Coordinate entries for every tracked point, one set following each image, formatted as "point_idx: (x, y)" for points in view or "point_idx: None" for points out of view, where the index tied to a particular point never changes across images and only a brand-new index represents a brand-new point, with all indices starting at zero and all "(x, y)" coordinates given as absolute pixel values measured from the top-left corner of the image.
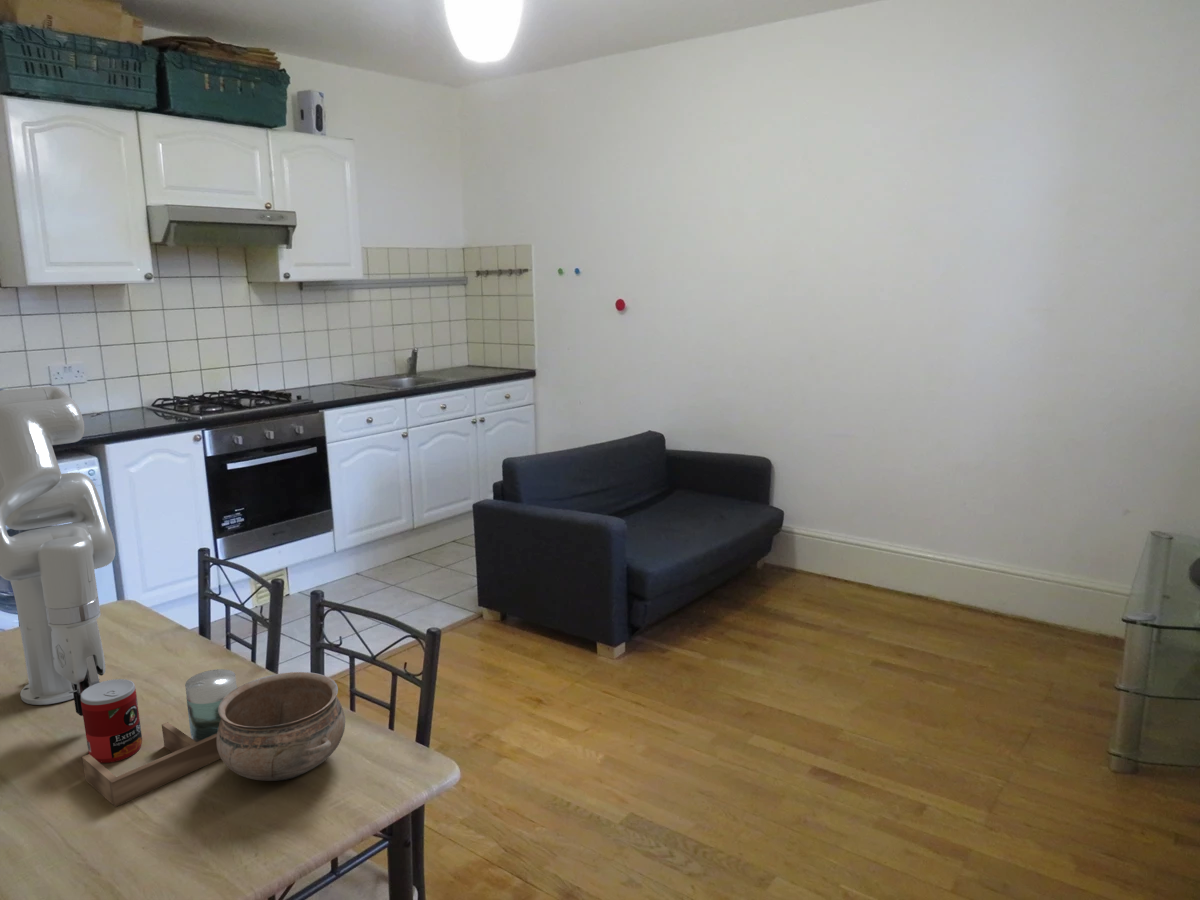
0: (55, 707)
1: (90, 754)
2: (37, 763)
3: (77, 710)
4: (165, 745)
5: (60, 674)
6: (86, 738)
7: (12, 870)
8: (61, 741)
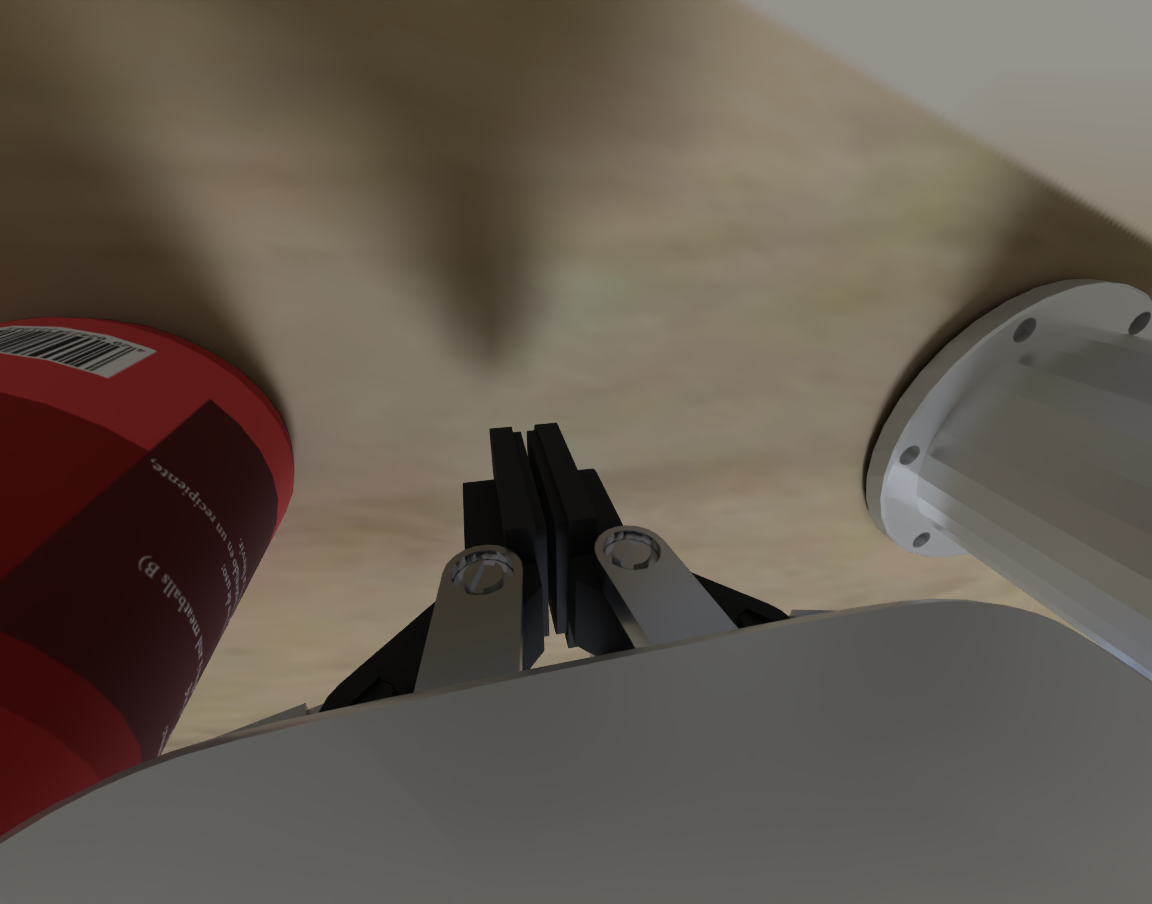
0: (886, 367)
1: (25, 320)
2: (290, 14)
3: (539, 436)
4: None
5: (780, 631)
6: (11, 357)
7: None
8: (513, 267)
